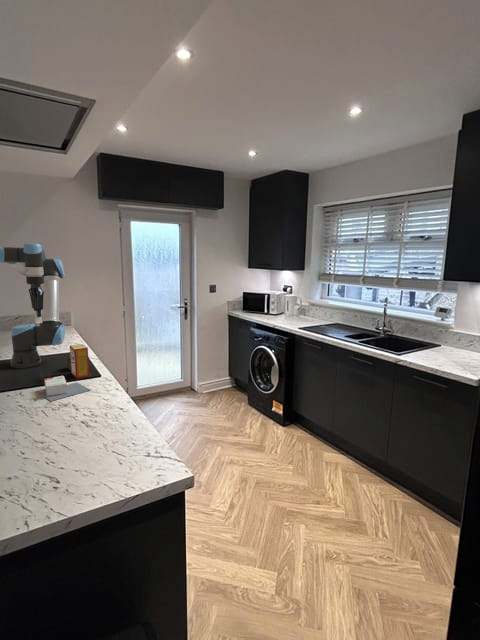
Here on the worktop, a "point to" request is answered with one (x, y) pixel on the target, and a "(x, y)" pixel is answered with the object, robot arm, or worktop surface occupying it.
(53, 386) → the ink box
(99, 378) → the worktop surface
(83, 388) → the mat
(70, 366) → the box
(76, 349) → the baking soda box
